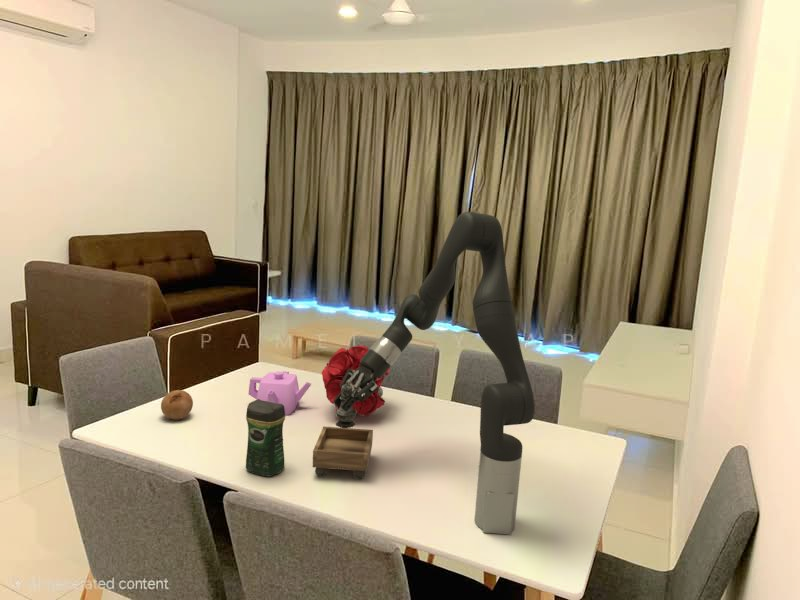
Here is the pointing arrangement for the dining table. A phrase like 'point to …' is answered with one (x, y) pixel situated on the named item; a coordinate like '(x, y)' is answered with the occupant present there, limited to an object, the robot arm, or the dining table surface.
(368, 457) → the wooden serving tray
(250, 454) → the coffee jar
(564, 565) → the dining table surface
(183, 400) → the onion
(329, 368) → the bouquet
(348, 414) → the grey stone tiered cylinder
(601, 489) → the dining table surface
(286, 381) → the teakettle
